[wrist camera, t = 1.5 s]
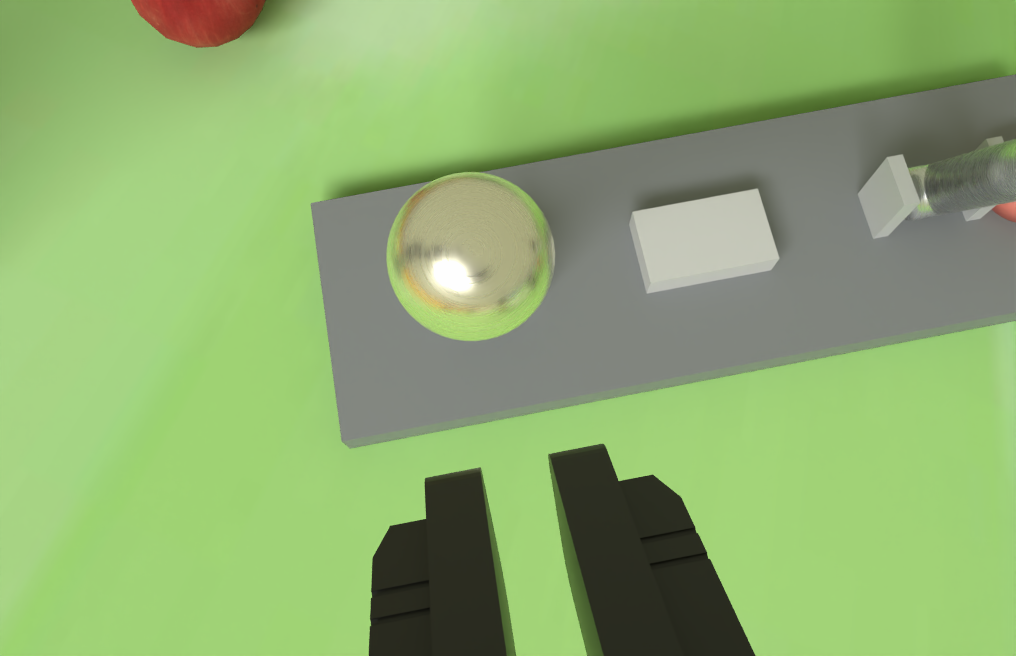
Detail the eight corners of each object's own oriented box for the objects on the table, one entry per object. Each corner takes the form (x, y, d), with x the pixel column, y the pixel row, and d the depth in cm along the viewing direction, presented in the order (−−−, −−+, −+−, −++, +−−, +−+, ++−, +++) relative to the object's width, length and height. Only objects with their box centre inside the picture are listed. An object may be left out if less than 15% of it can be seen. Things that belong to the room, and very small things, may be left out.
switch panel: (1088, 306, 35) (1167, 264, 30) (350, 448, 34) (323, 426, 29) (999, 94, 38) (1058, 28, 33) (319, 218, 37) (291, 168, 32)
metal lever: (526, 312, 34) (578, 326, 17) (435, 329, 33) (396, 361, 17) (509, 221, 33) (545, 144, 17) (418, 238, 33) (361, 178, 17)
